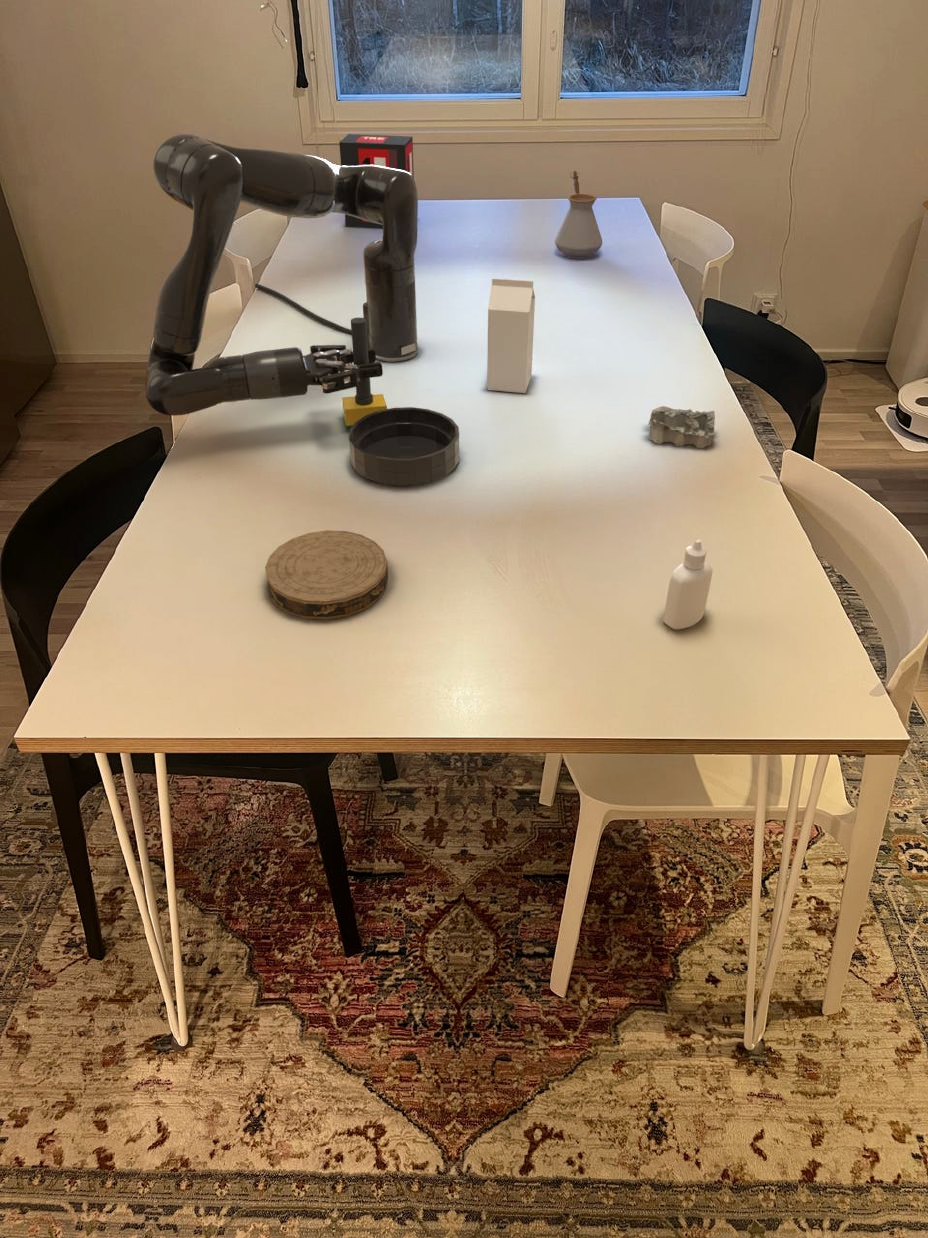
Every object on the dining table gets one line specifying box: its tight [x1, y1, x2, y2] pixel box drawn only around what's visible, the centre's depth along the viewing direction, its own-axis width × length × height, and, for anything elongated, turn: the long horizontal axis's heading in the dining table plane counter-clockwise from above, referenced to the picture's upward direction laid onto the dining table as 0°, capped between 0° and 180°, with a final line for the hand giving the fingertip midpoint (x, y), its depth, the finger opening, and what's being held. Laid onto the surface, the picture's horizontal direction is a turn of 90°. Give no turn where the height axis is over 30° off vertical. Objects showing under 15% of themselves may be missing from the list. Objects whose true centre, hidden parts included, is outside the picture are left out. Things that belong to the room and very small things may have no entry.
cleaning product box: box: [338, 133, 415, 230], centre depth 240 cm, size 16×9×20 cm, turn 80°
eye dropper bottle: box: [662, 538, 713, 631], centre depth 116 cm, size 4×6×12 cm
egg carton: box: [647, 405, 716, 449], centre depth 155 cm, size 11×8×4 cm
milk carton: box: [486, 277, 536, 394], centre depth 166 cm, size 7×7×19 cm
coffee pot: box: [554, 170, 603, 260], centre depth 227 cm, size 21×12×15 cm, turn 1°
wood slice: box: [264, 530, 389, 621], centre depth 125 cm, size 16×16×3 cm
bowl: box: [348, 406, 460, 487], centre depth 149 cm, size 17×17×5 cm
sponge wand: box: [341, 316, 388, 432], centre depth 155 cm, size 7×4×18 cm, turn 101°
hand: (378, 361), depth 155 cm, fingers open, 5 cm apart
